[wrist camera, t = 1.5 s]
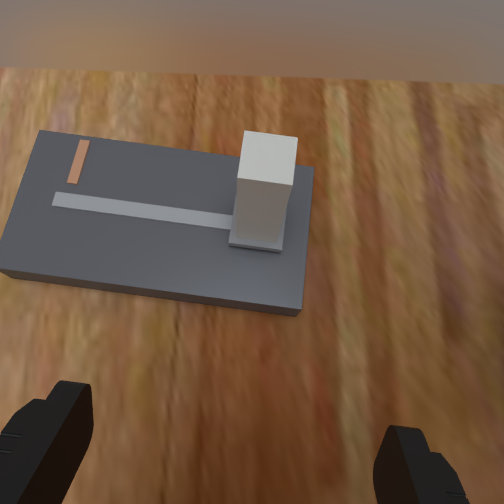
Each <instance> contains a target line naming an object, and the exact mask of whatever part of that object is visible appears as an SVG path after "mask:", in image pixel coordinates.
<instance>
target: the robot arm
mask: <svg viewBox="0 0 504 504" xmlns="http://www.w3.org/2000/svg"><path fill="white" fill-rule="evenodd" d="M93 426H94V422H93V407H92V392H91V386H90V384H85V383H78V382H70V381H63V380H61V381H59V382H58V383H57V384H56V385H55V387H54V388H53V390H52V391H51V393H50V394H49V396H48V397H47V399H46V400H42V399H33V400H32V401H30V402H29V403H28V404H26V405H25V406H24V407H22V408H21V409H20V410H18V411H17V412H16V413H15V414H14V415H13V416H12V418H11V419H10V420H9V422H8V423H7V425H6V426H5V427H4V429H3V430H2V431H1V435H0V504H62V502H63V499H64V497H65V495H66V493H67V491H68V489H69V487H70V485H71V483H72V481H73V479H74V476H75V474H76V472H77V470H78V468H79V466H80V464H81V462H82V460H83V458H84V455H85V453H86V451H87V449H88V447H89V444H90V441H91V438H92V433H93ZM373 483H374V489H375V494H376V498H377V503H378V504H470V503H469V501H468V499H466V497H465V495H466V494H465V492H464V489H463V487H462V485H461V482H460V480H459V478H458V475H457V473H456V472H455V470H454V469H453V468H452V467H451V466H450V464H449V463H448V462H447V461H446V459H445V458H444V457H443V456H442V455H441V453H435V452H430V450H429V447H428V444H427V442H426V439H425V437H424V434H423V433H422V431H421V430H420V429H418V428H410V427H403V426H395V425H390V426H389V427H388V428H387V431H386V433H385V436H384V438H383V441H382V444H381V446H380V449H379V451H378V454H377V457H376V459H375V462H374V467H373Z"/></svg>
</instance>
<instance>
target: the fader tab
mask: <svg viewBox="0 0 504 504" xmlns="http://www.w3.org/2000/svg"><path fill="white" fill-rule="evenodd" d="M297 140H298V138H296V137H289V136H281V135H274V134H267V133H259V132H252V131H244V138H243V144H242V150H241V157H240V163H239V169H238V176H237V195H236V198H235V204H234V210H233V217H232V223H231V230H230V236H229V242H228V245H229V246H237V247H244V248H252V249H259V250H266V251H274V252H281V251H282V245H283V236H284V227H285V218H286V209H287V203H288V200H289V196H290V193H291V189H292V186H293V178H294V168H295V159H296V150H297Z"/></svg>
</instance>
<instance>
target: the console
mask: <svg viewBox="0 0 504 504" xmlns="http://www.w3.org/2000/svg"><path fill="white" fill-rule="evenodd" d="M239 163H240V157H236V156H228V155H221V154H214V153H206V152H199V151H192V150H184V149H177V148H169V147H162V146H155V145H147V144H140V143H133V142H125V141H118V140H111V139H103V138H96V137H89V136H81V135H74V134H66V133H59V132H52V131H44V130H39V133H38V136H37V138H36V141H35V144H34V147H33V150H32V153H31V155H30V158H29V161H28V164H27V167H26V170H25V172H24V175H23V178H22V181H21V184H20V187H19V189H18V192H17V195H16V198H15V201H14V204H13V207H12V209H11V212H10V215H9V218H8V221H7V224H6V226H5V229H4V232H3V235H2V238H1V241H0V272H1V273H3V274H5V275H7V276H9V277H11V278H16V279H24V280H31V281H38V282H46V283H53V284H60V285H68V286H75V287H82V288H90V289H97V290H104V291H112V292H119V293H126V294H134V295H141V296H149V297H156V298H163V299H171V300H178V301H185V302H193V303H200V304H207V305H215V306H222V307H229V308H237V309H244V310H252V311H259V312H266V313H274V314H281V315H288V316H297V314H298V313H299V312H300V311H301V310H302V300H303V289H304V278H305V267H306V255H307V244H308V233H309V222H310V211H311V200H312V188H313V177H314V167H309V166H302V165H295V168H294V178H293V186H292V189H291V193H290V196H289V200H288V203H287V209H286V218H285V227H284V236H283V245H282V251H281V252H274V251H266V250H259V249H252V248H244V247H237V246H229V245H228V242H229V236H230V230H231V223H232V217H233V210H234V204H235V198H236V195H237V176H238V169H239Z"/></svg>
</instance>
